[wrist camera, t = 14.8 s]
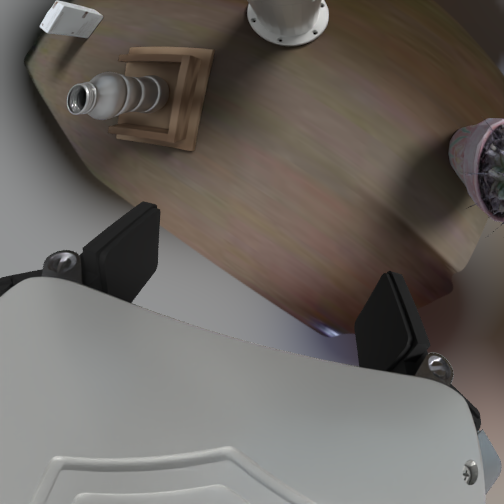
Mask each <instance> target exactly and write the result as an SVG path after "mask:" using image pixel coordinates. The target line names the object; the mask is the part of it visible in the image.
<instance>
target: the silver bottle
mask: <svg viewBox="0 0 504 504" xmlns="http://www.w3.org/2000/svg"><path fill="white" fill-rule="evenodd" d="M168 97H169V87H168V84H167V83H166V81H165V80H163V79H162V78H160V77H158V76H155V75H148V76H143V77H129V76H125V75H122V74H118V73H115V72H103V73H101V74H98V75H96V76H95V77H94V78H92V79H91V80H90V81H89V82H84V83H80V84H76V85H74V86H73V87H72V88H71V89H70V91H69V93H68V96H67V108H68V110H69V111H70V113H72V114H74V115H78V114H86V113H87V114H89V115H90V116H91V117H92V118H95V119H98V120H106V119H110V118H113V117H115V116H118V115H120V114H123V113H127V112H140V113H147V114H149V113H153V112H156V111H158V110H160V109H161V108H162V107H163V106H164V105H165V104H166V102H167V100H168Z"/></svg>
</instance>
